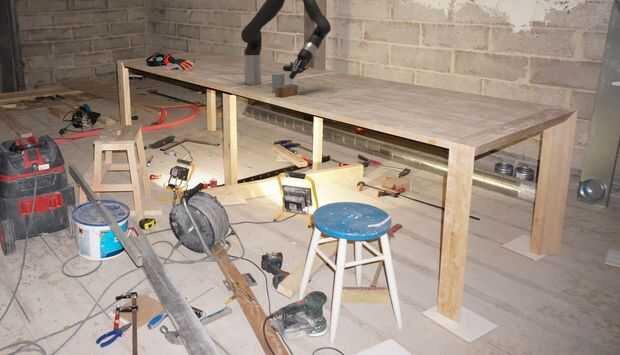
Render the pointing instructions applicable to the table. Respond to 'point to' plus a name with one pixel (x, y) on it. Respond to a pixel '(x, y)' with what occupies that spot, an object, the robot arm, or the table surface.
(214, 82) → the table surface
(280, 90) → the walnut block
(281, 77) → the grey block
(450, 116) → the table surface
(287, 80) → the jar
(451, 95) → the table surface
